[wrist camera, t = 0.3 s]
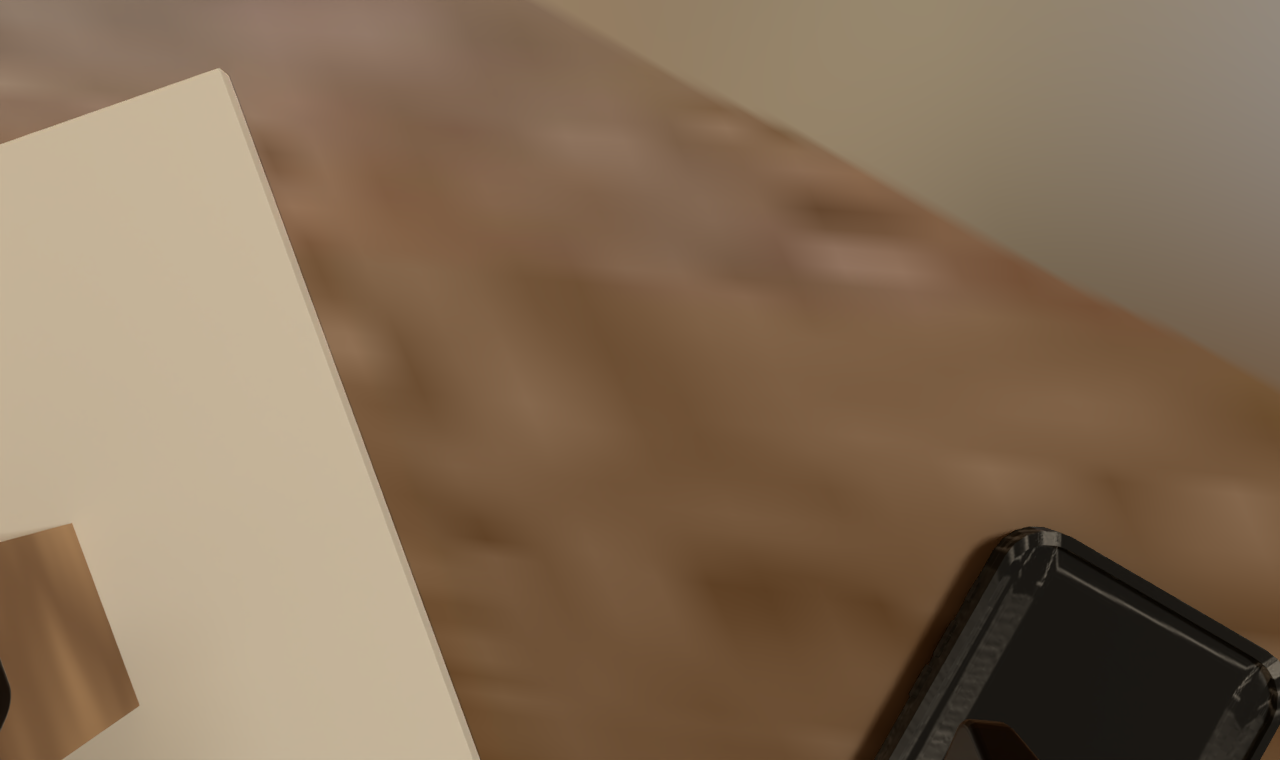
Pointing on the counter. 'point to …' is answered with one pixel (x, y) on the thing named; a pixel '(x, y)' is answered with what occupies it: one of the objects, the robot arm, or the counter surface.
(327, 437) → the cutting board
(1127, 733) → the phone
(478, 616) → the counter surface
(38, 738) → the walnut block
